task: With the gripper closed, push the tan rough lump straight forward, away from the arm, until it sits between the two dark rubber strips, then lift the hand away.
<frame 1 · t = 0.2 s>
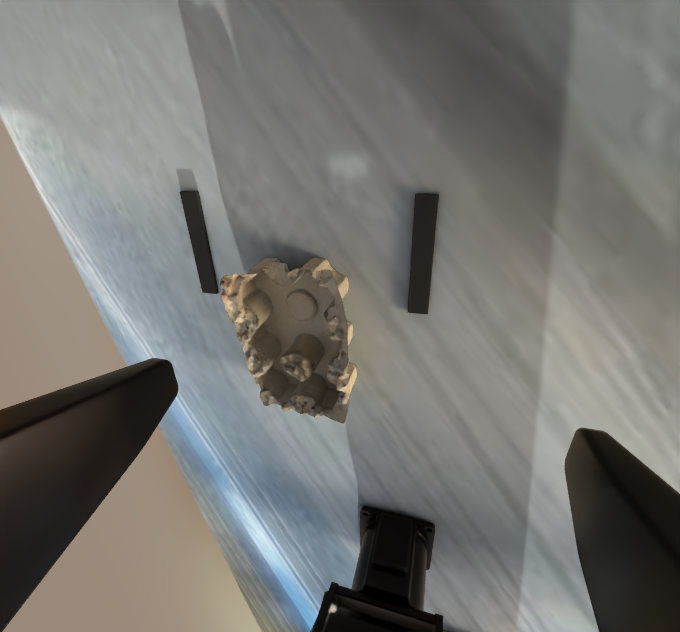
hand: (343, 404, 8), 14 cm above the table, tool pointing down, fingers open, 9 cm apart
bay strips: (302, 250, 22), on the table
tan rough lump: (309, 325, 25), on the table
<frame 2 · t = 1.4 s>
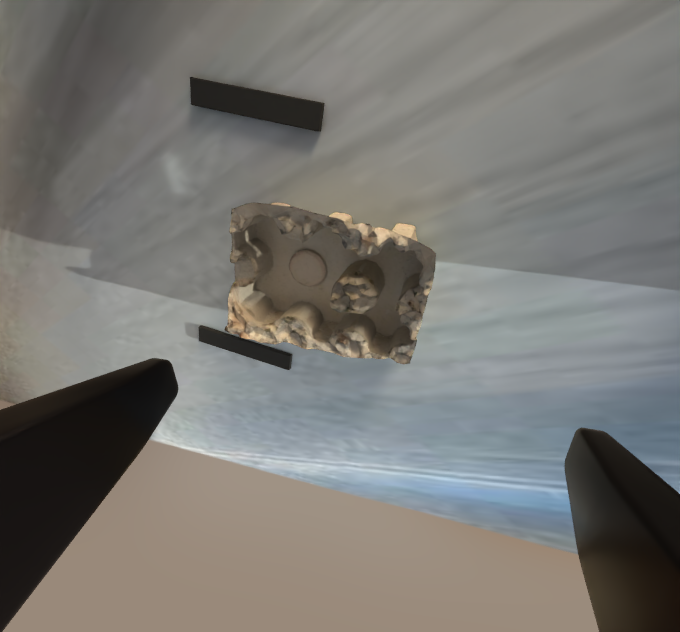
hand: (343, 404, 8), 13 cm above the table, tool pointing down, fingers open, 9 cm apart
bay strips: (249, 246, 21), on the table
tan rough lump: (337, 268, 20), on the table
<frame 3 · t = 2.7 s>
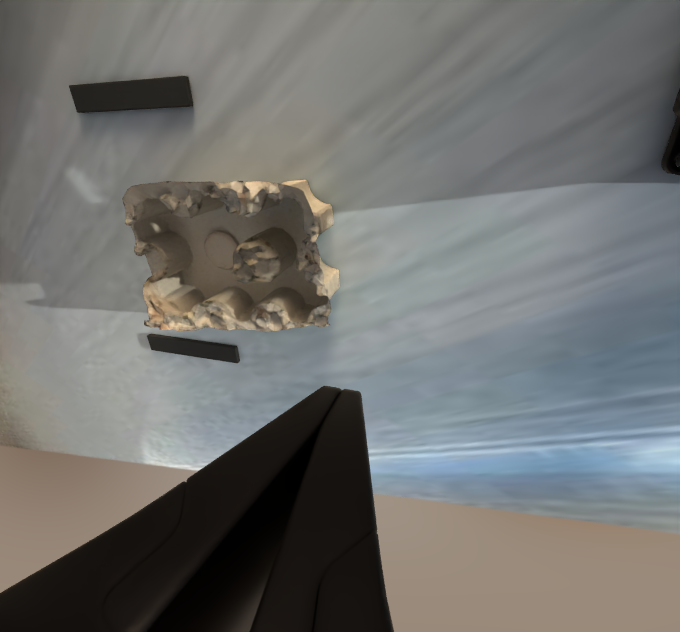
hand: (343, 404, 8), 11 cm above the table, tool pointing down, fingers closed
bay strips: (167, 241, 21), on the table
tan rough lump: (251, 244, 20), on the table
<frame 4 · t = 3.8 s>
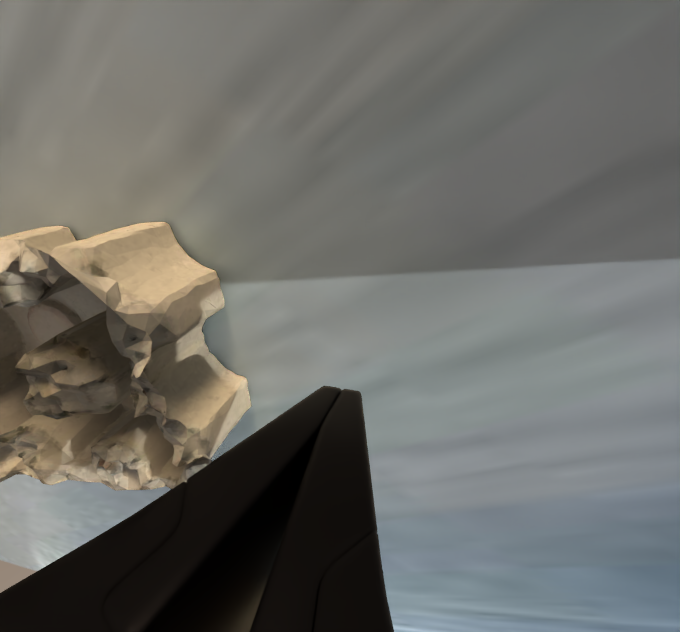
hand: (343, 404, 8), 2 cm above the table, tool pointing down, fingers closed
tan rough lump: (106, 323, 12), on the table
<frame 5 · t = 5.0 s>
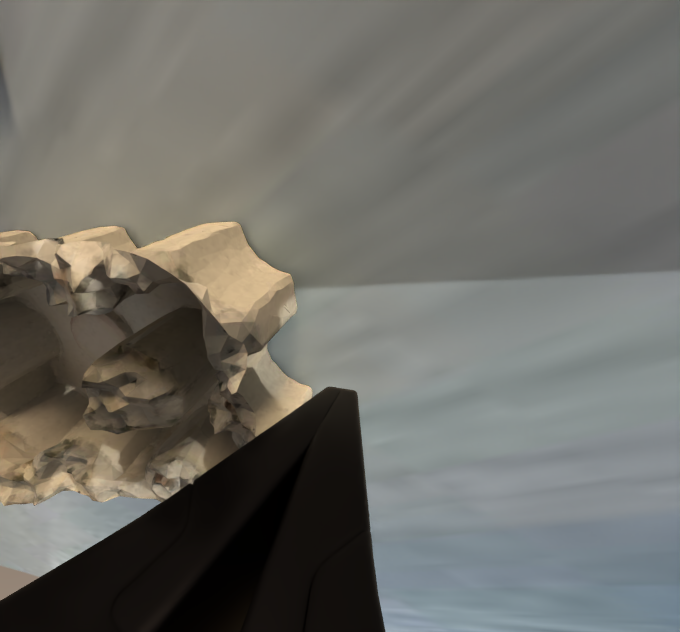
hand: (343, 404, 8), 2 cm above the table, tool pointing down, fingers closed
tan rough lump: (155, 329, 11), on the table, touching gripper
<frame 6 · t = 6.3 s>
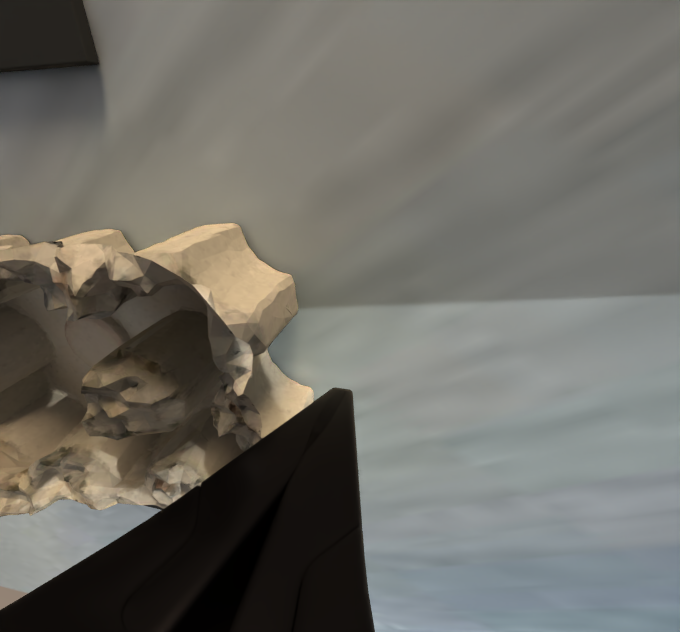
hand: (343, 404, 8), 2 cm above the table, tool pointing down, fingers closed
bay strips: (79, 332, 11), on the table
tan rough lump: (152, 333, 11), on the table, touching gripper
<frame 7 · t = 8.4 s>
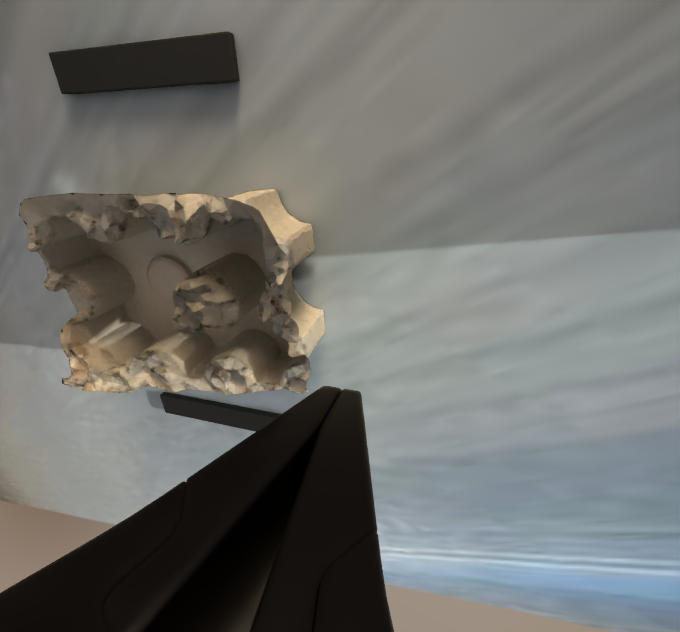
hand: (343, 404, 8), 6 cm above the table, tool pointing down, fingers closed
bay strips: (191, 277, 15), on the table
tan rough lump: (208, 273, 15), on the table
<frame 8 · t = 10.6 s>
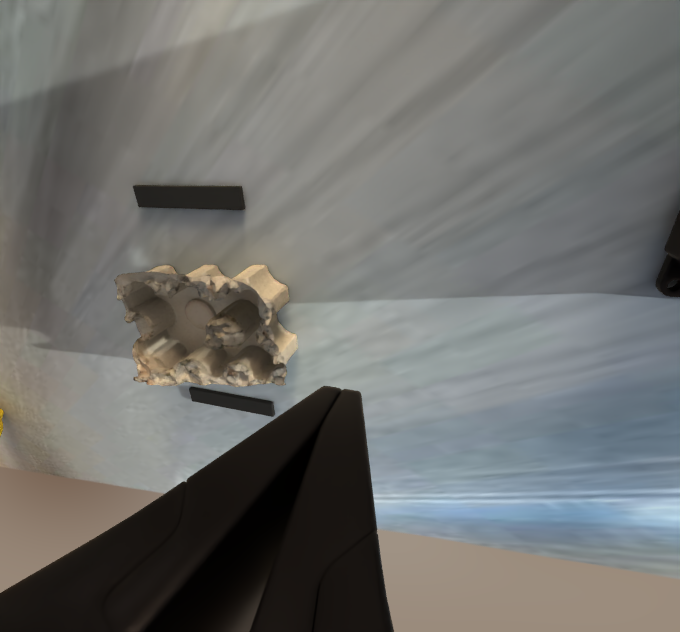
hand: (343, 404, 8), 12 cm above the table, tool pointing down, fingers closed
lemon: (4, 408, 38), on the table
bay strips: (213, 312, 24), on the table
tan rough lump: (224, 310, 23), on the table
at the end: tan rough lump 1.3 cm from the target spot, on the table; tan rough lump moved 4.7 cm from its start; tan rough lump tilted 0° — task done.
